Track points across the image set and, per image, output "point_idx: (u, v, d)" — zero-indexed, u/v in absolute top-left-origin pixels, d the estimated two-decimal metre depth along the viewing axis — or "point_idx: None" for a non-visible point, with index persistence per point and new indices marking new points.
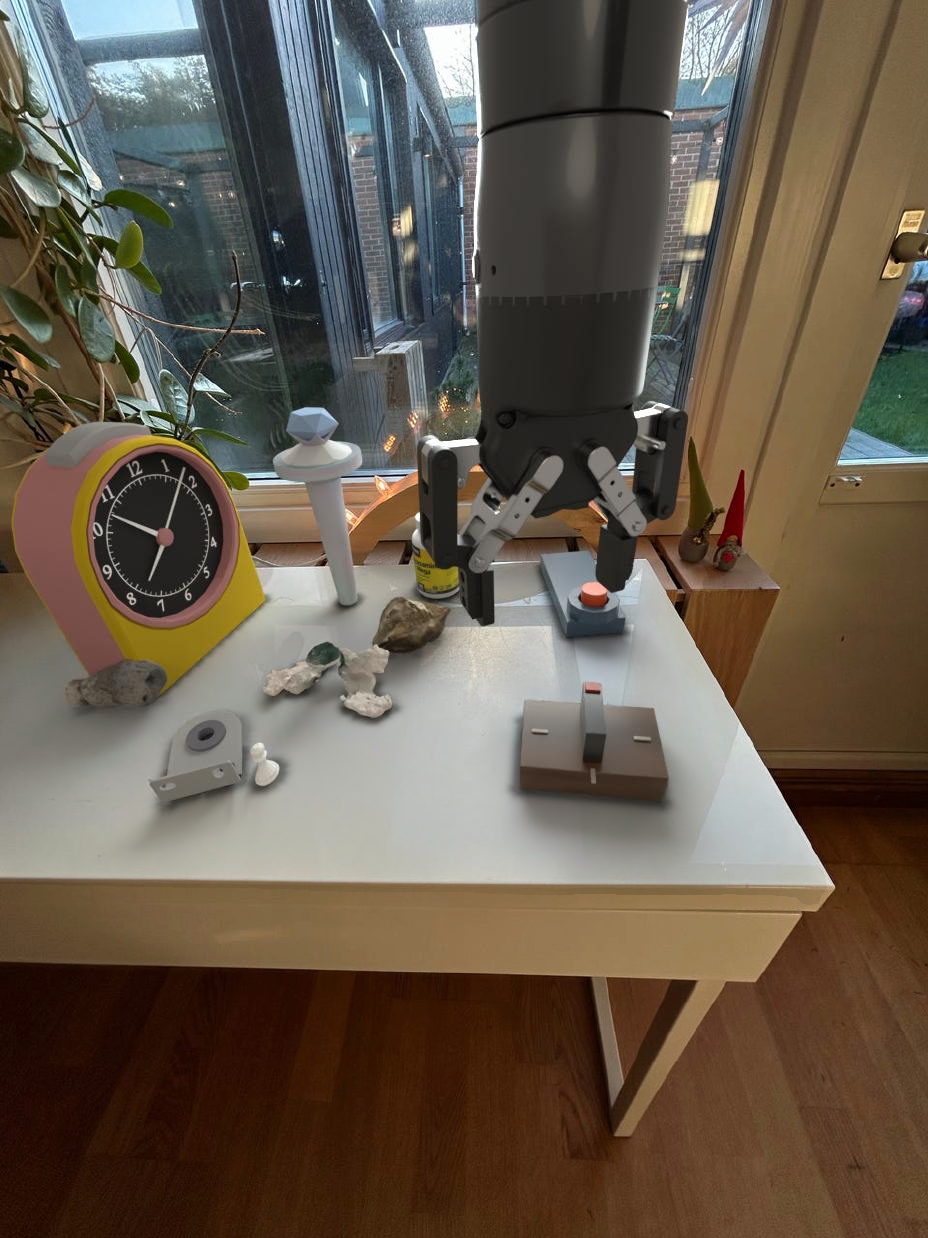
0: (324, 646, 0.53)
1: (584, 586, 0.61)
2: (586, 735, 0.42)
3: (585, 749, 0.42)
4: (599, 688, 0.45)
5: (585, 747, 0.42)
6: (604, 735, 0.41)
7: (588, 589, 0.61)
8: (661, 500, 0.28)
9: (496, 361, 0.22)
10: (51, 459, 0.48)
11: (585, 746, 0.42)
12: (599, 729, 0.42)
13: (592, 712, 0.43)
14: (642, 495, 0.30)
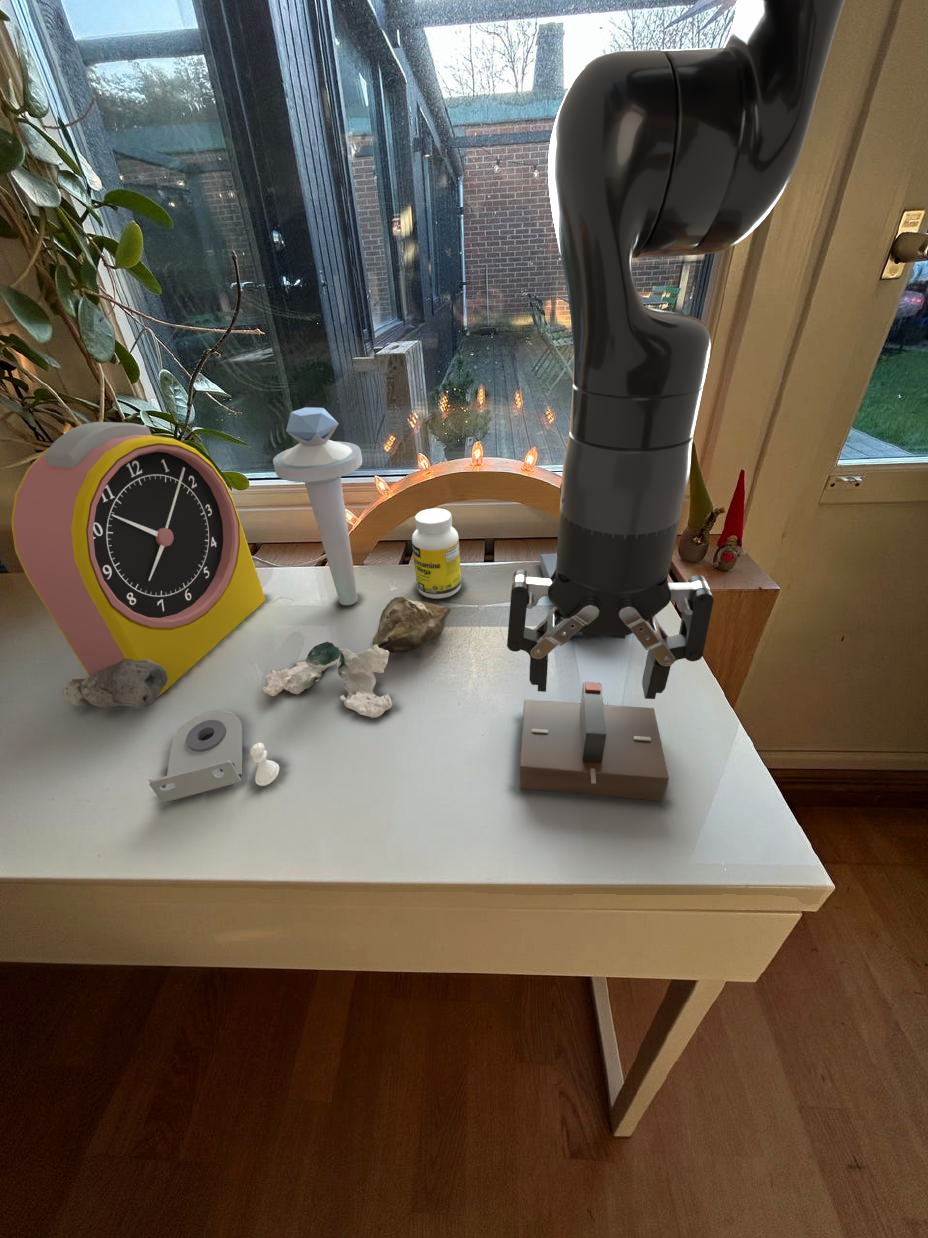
0: (324, 646, 0.53)
1: None
2: (586, 735, 0.42)
3: (585, 749, 0.42)
4: (599, 688, 0.45)
5: (585, 747, 0.42)
6: (604, 735, 0.41)
7: None
8: (689, 647, 0.37)
9: (560, 546, 0.34)
10: (51, 459, 0.48)
11: (585, 746, 0.42)
12: (599, 729, 0.42)
13: (592, 712, 0.43)
14: (682, 637, 0.39)
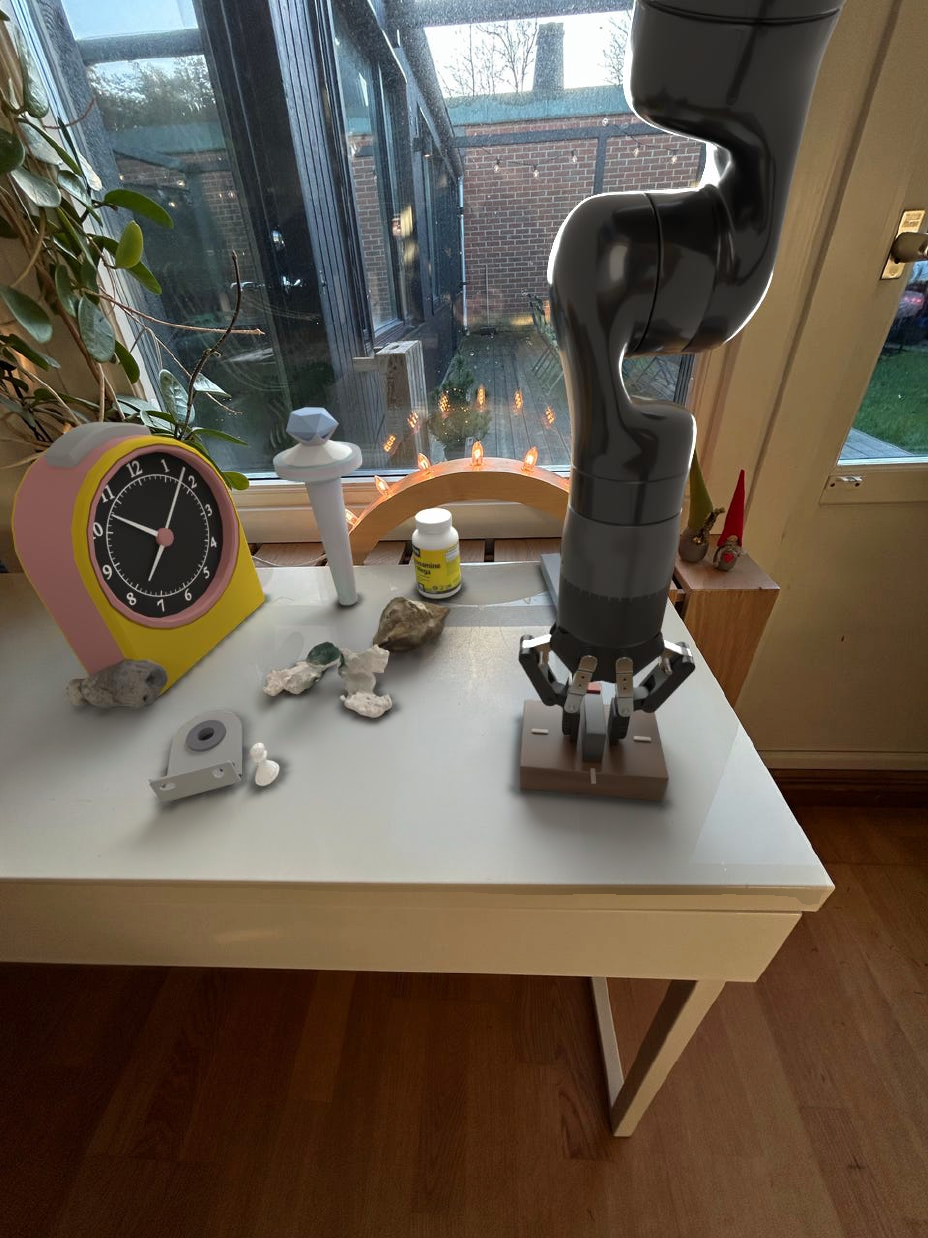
0: (324, 646, 0.53)
1: None
2: (586, 735, 0.42)
3: (585, 749, 0.42)
4: (599, 688, 0.45)
5: (585, 747, 0.42)
6: (604, 735, 0.41)
7: None
8: (645, 701, 0.41)
9: (560, 602, 0.37)
10: (51, 459, 0.48)
11: (585, 746, 0.42)
12: (599, 729, 0.42)
13: (592, 712, 0.43)
14: (644, 688, 0.42)
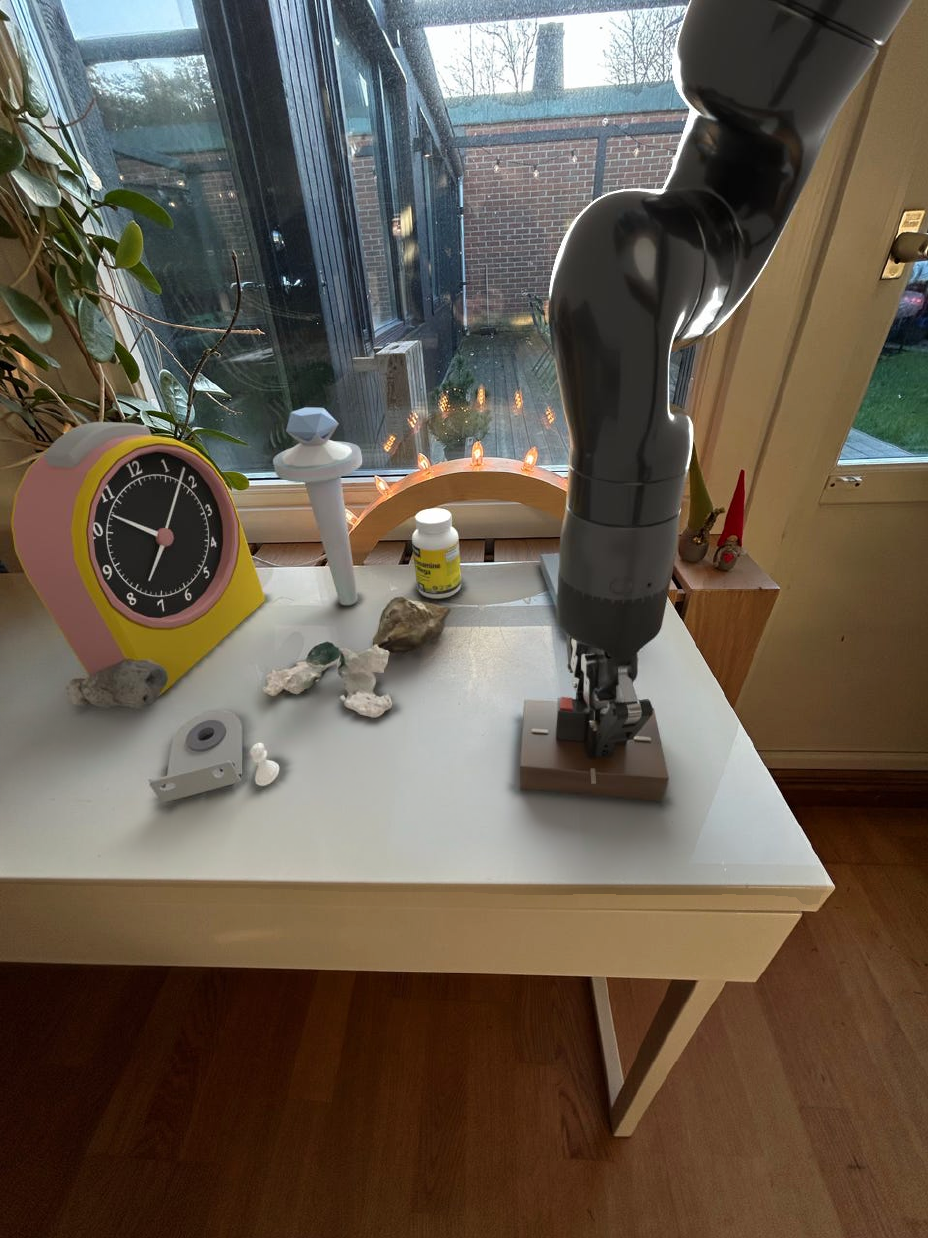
0: (324, 646, 0.53)
1: None
2: None
3: None
4: (569, 698, 0.44)
5: None
6: None
7: None
8: None
9: (643, 625, 0.34)
10: (51, 459, 0.48)
11: None
12: None
13: None
14: None
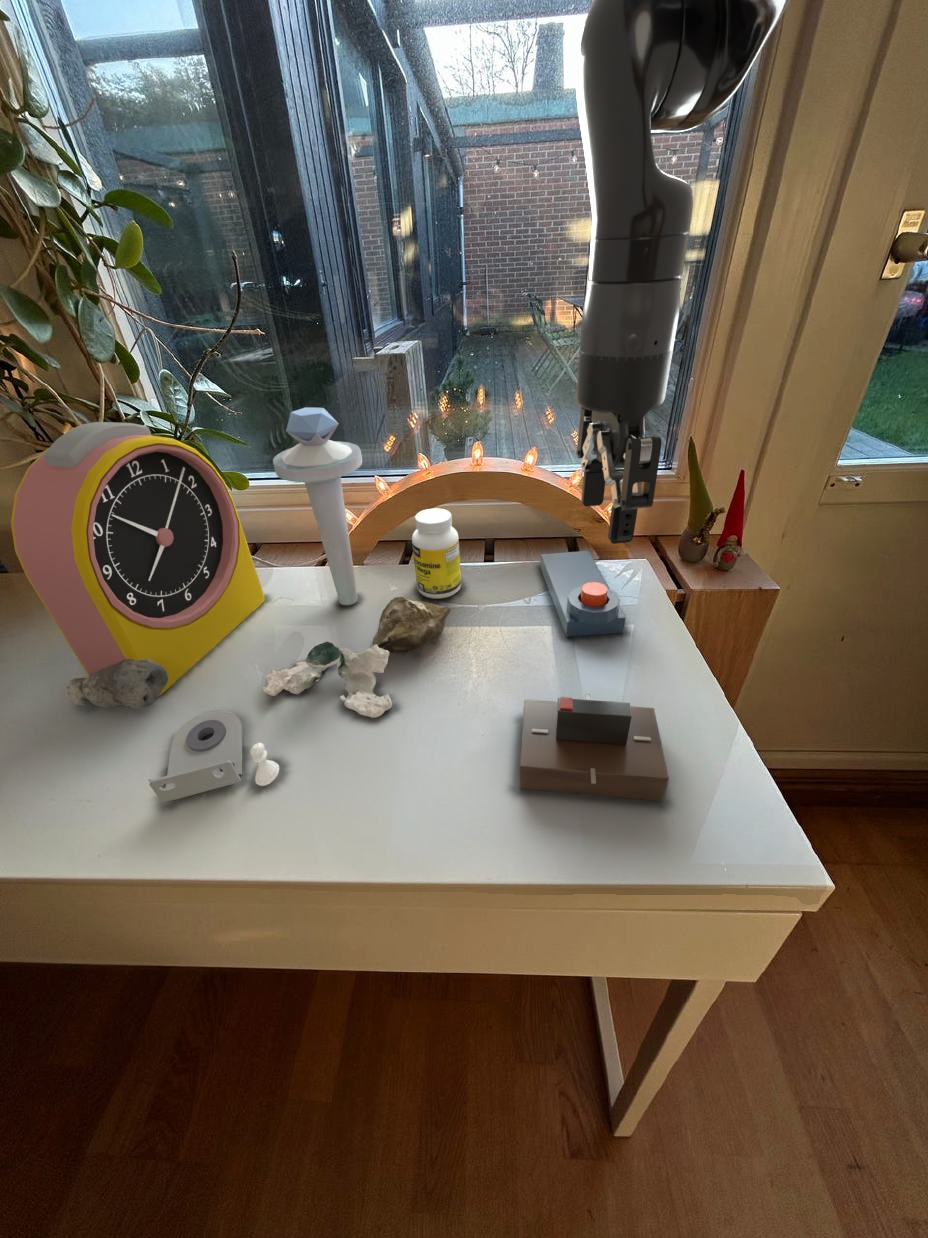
0: (324, 646, 0.53)
1: (584, 586, 0.61)
2: (630, 718, 0.43)
3: (628, 731, 0.44)
4: (569, 698, 0.44)
5: (628, 729, 0.44)
6: (629, 705, 0.44)
7: (588, 589, 0.61)
8: None
9: (650, 386, 0.42)
10: (51, 459, 0.48)
11: None
12: (624, 706, 0.43)
13: (601, 708, 0.43)
14: None
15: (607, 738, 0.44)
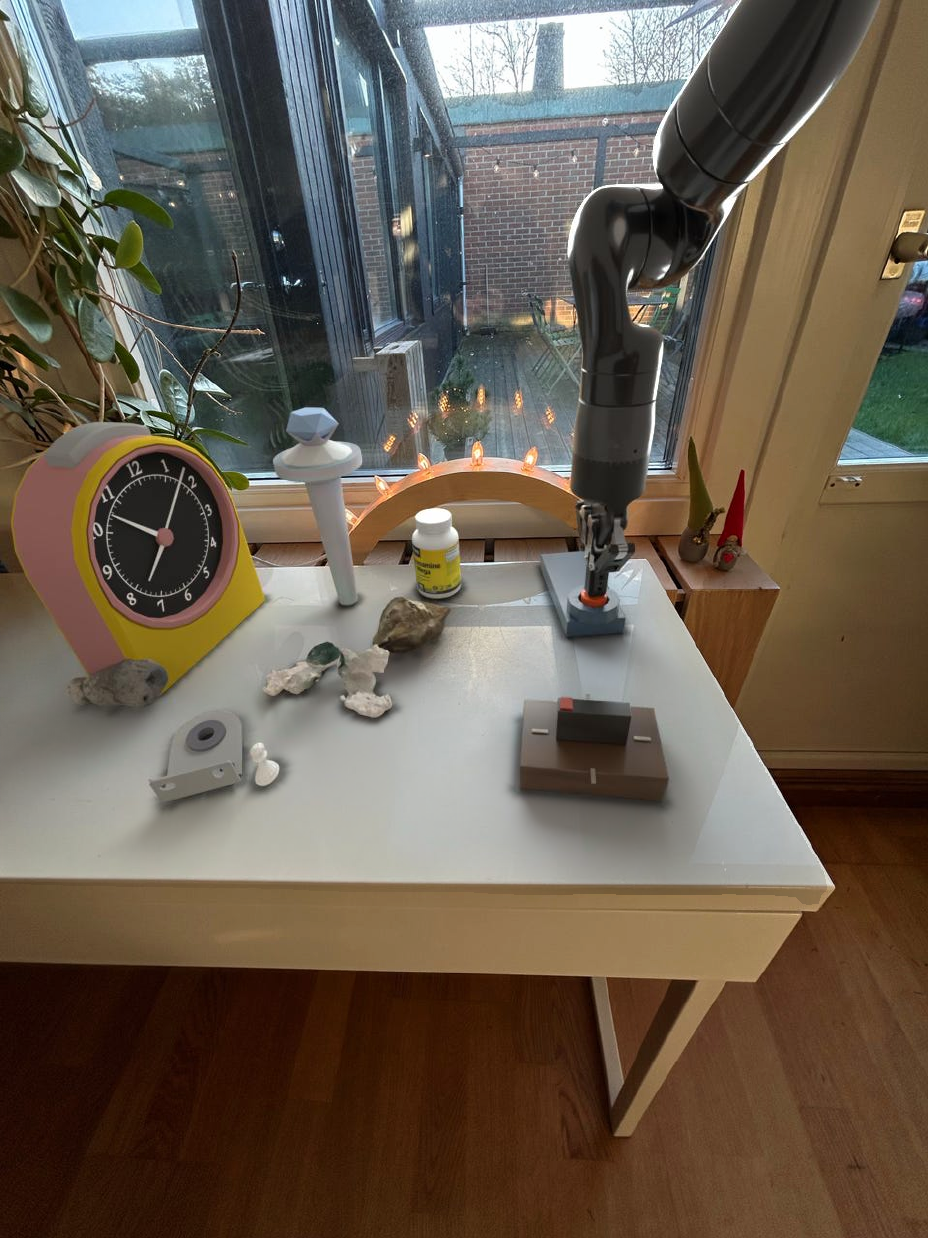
0: (324, 646, 0.53)
1: (583, 591, 0.62)
2: (630, 718, 0.43)
3: (628, 731, 0.44)
4: (569, 698, 0.44)
5: (628, 729, 0.44)
6: (629, 705, 0.44)
7: (587, 594, 0.61)
8: None
9: (631, 484, 0.50)
10: (51, 459, 0.48)
11: None
12: (624, 706, 0.43)
13: (601, 708, 0.43)
14: None
15: (607, 738, 0.44)
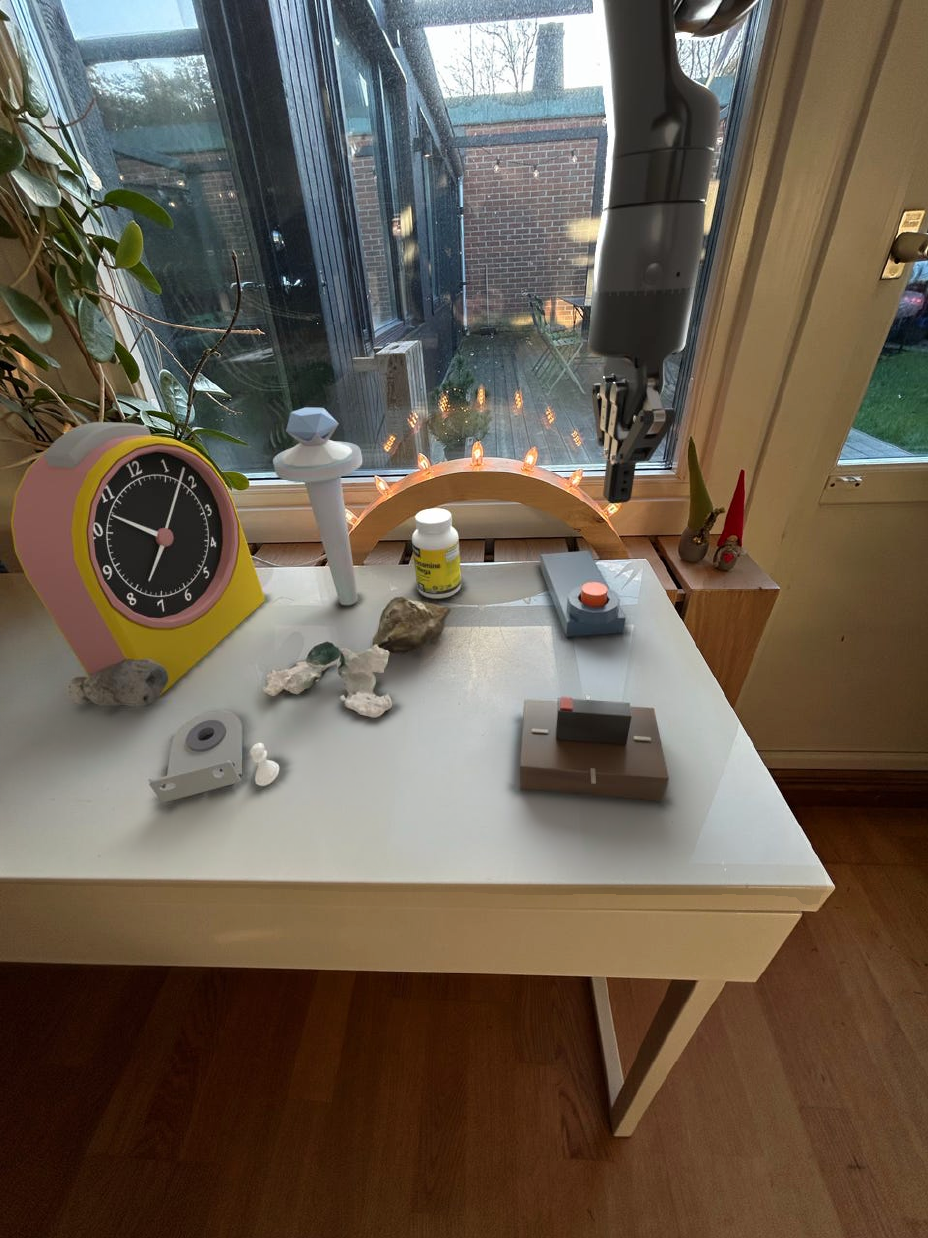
0: (324, 646, 0.53)
1: (584, 586, 0.61)
2: (630, 718, 0.43)
3: (628, 731, 0.44)
4: (569, 698, 0.44)
5: (628, 729, 0.44)
6: (629, 705, 0.44)
7: (588, 589, 0.61)
8: None
9: (671, 326, 0.38)
10: (51, 459, 0.48)
11: None
12: (624, 706, 0.43)
13: (601, 708, 0.43)
14: None
15: (607, 738, 0.44)
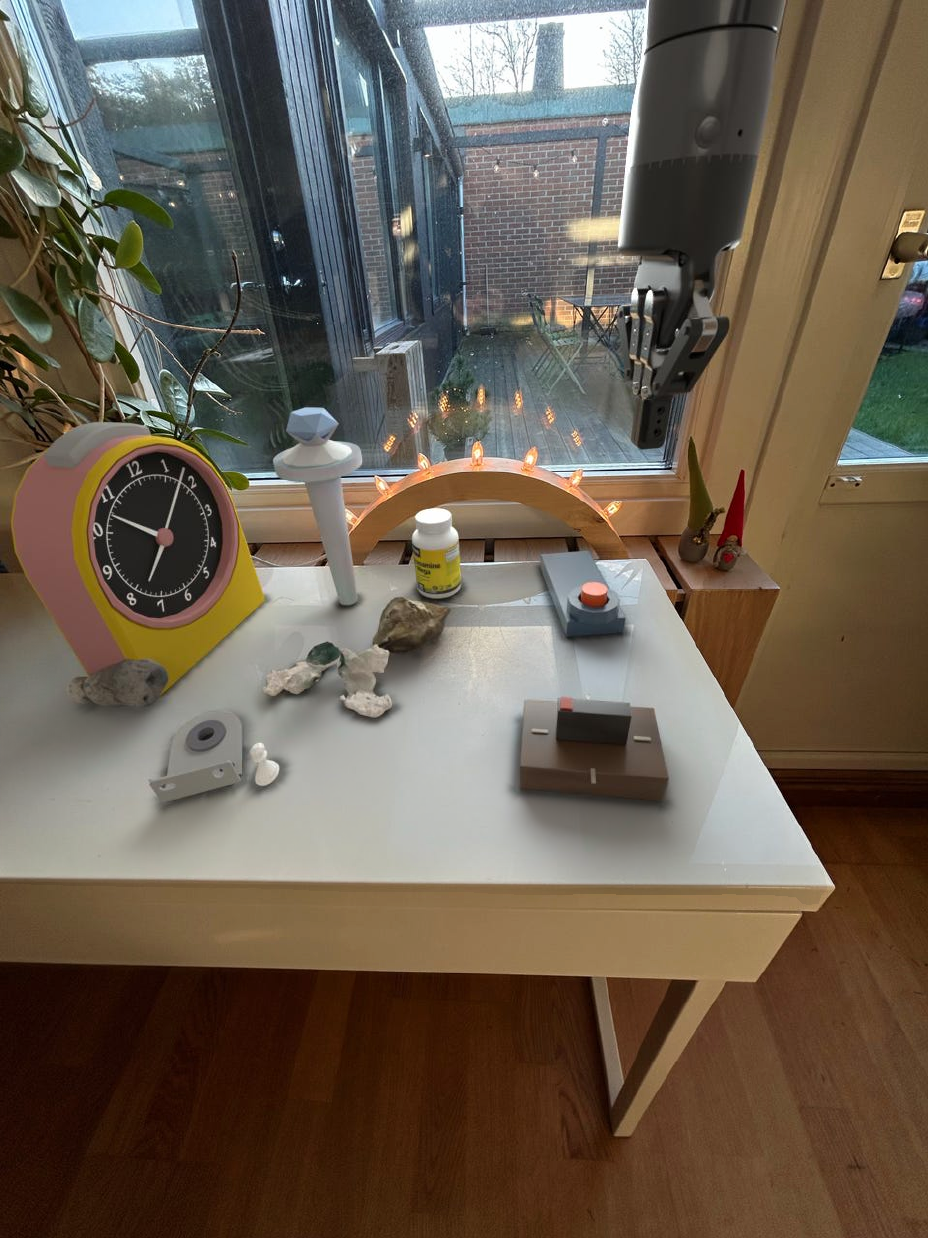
0: (324, 646, 0.53)
1: (584, 586, 0.61)
2: (630, 718, 0.43)
3: (628, 731, 0.44)
4: (569, 698, 0.44)
5: (628, 729, 0.44)
6: (629, 705, 0.44)
7: (588, 589, 0.61)
8: None
9: (727, 207, 0.30)
10: (51, 459, 0.48)
11: None
12: (624, 706, 0.43)
13: (601, 708, 0.43)
14: None
15: (607, 738, 0.44)
